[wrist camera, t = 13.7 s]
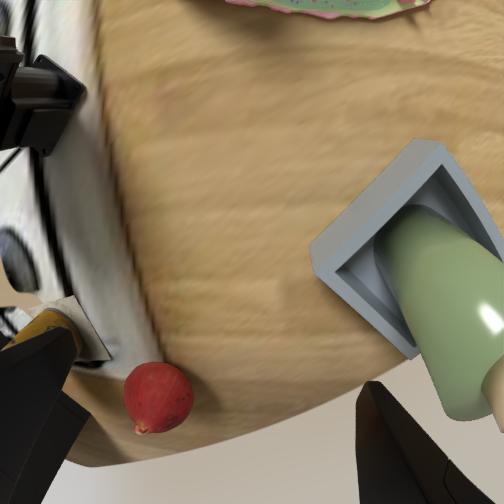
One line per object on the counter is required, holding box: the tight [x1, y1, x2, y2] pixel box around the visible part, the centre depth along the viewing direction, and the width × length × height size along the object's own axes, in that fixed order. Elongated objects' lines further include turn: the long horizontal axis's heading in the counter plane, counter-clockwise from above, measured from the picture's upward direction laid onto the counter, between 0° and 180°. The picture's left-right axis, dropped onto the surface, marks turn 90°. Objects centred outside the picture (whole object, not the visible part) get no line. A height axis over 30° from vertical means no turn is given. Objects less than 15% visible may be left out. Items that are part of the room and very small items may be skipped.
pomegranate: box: [123, 362, 194, 435], centre depth 22 cm, size 6×6×8 cm
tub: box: [309, 138, 504, 360], centre depth 17 cm, size 10×10×4 cm
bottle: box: [373, 204, 504, 433], centre depth 12 cm, size 6×6×14 cm
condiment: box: [1, 295, 111, 365], centre depth 21 cm, size 7×8×12 cm
